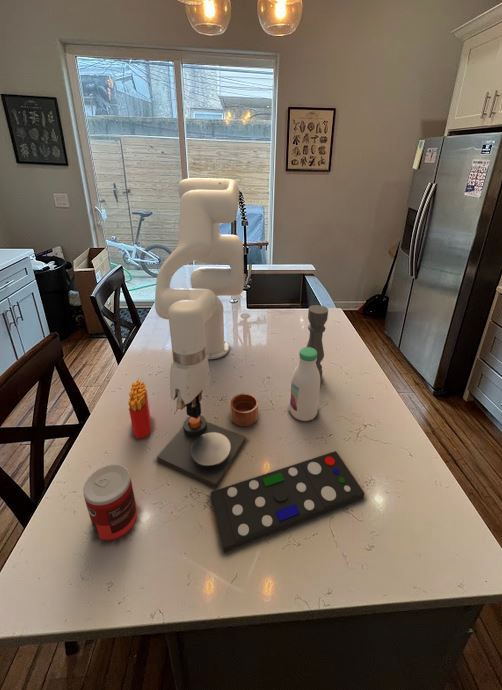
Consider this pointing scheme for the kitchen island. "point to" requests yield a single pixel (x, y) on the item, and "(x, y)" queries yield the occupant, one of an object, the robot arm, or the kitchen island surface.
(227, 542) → the remote control
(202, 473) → the scale
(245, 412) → the bowl
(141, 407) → the french fries
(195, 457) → the scale pan
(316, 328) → the pepper mill
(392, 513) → the kitchen island surface
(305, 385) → the milk bottle
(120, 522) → the canned food
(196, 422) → the tare button
